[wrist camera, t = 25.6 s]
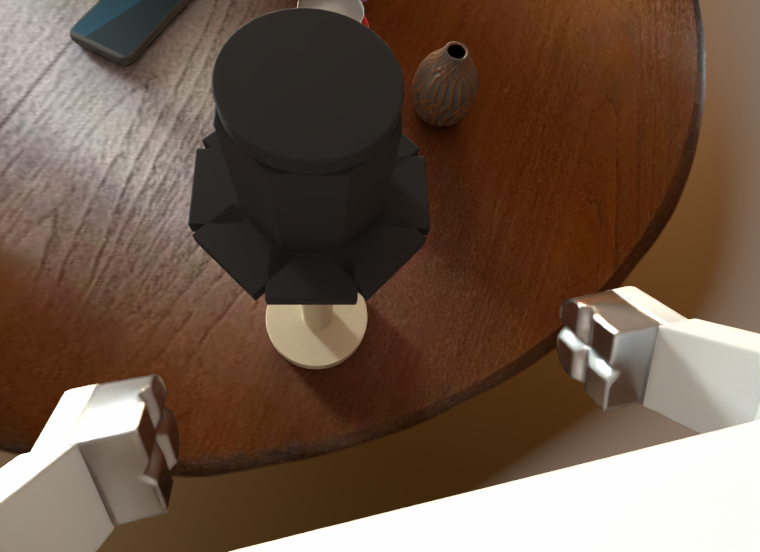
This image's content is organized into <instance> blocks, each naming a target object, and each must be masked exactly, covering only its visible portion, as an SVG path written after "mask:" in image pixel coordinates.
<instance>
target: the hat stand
mask: <svg viewBox="0 0 760 552" xmlns="http://www.w3.org/2000/svg"><path fill="white" fill-rule="evenodd" d="M367 319H368V315H367V307H366V303H365V301H364V298H363V297H362V296H361V295H360V294H359V293H358V299H357V303H356V305H268V307H267V311H266V326H267V331H268V334H269V337H270V339H271V341H272V343H273V345H274V347H275V348H276V350H277V351H278V352H279V353H280V354H281V355H282V356H283V357H284V358H285V359H286V360H288V361H289V362H291V363H293V364H295V365H297V366H300V367H303V368H308V369H325V368H330V367H333V366H336V365H338V364H340V363H342V362H343V361H345V360H346V359H348V358H349V357H350V356H351V355H352V354H353V353H354V352H355V351H356V350H357V348H358V347H359V345H360V344H361V342H362V340H363V337H364V334H365V331H366V327H367Z"/></svg>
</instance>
